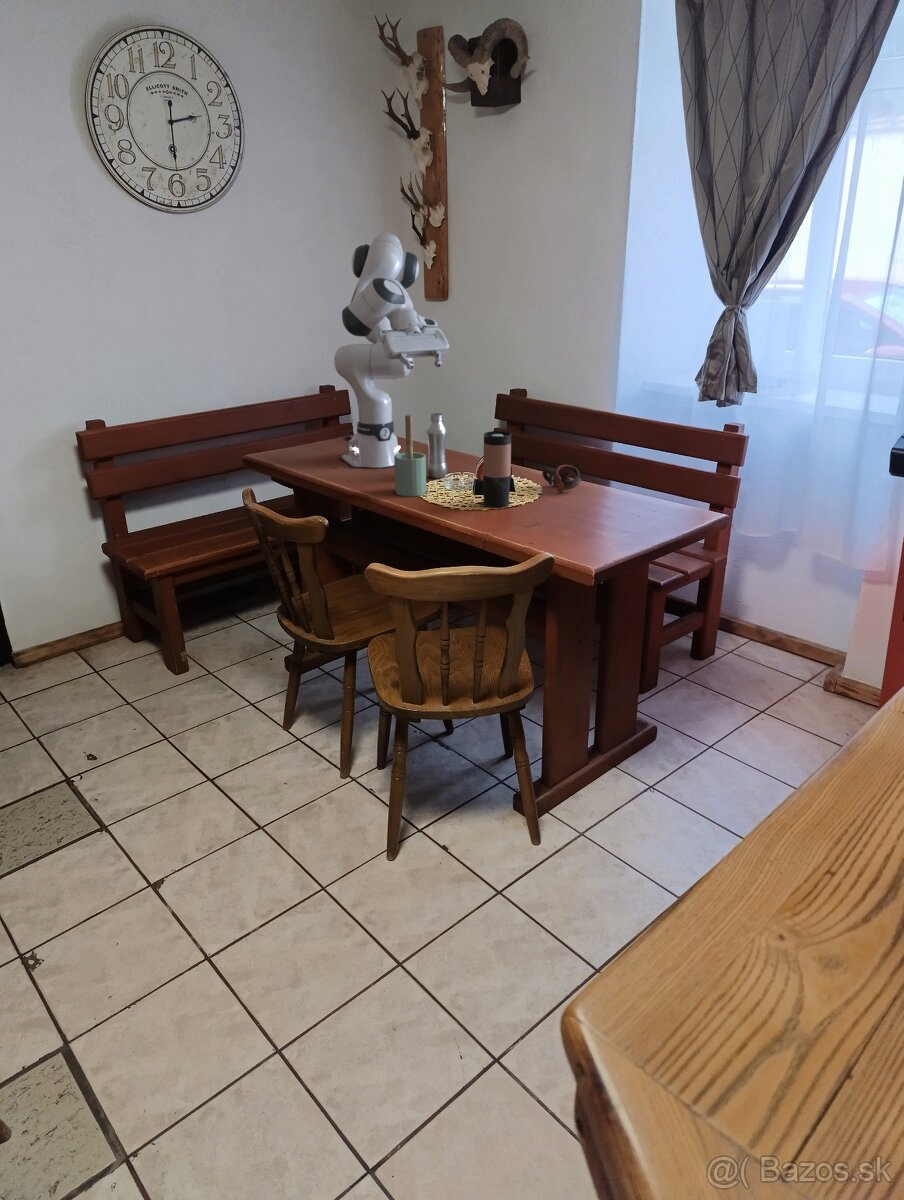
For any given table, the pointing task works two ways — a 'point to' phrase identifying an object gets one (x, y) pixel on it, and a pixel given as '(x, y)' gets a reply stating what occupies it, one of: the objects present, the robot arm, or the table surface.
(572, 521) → the table surface
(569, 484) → the dark looped ring
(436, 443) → the silver metal bottle
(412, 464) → the cup
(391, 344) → the robot arm
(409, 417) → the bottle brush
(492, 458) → the travel mug
